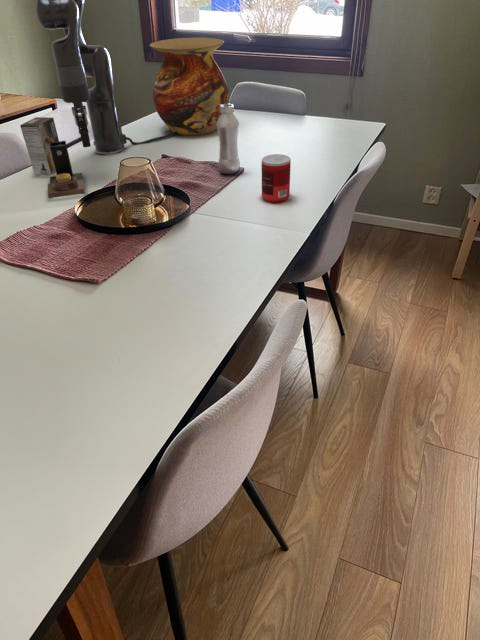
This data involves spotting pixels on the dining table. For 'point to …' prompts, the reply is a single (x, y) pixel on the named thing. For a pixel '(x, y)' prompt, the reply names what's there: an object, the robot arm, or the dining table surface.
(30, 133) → the coffee box
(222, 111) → the plastic bottle
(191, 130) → the vase
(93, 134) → the robot arm
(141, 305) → the dining table surface
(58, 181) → the button
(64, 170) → the lever bracket
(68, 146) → the lever
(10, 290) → the dining table surface
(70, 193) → the switch plate
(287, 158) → the canned food
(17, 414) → the dining table surface
